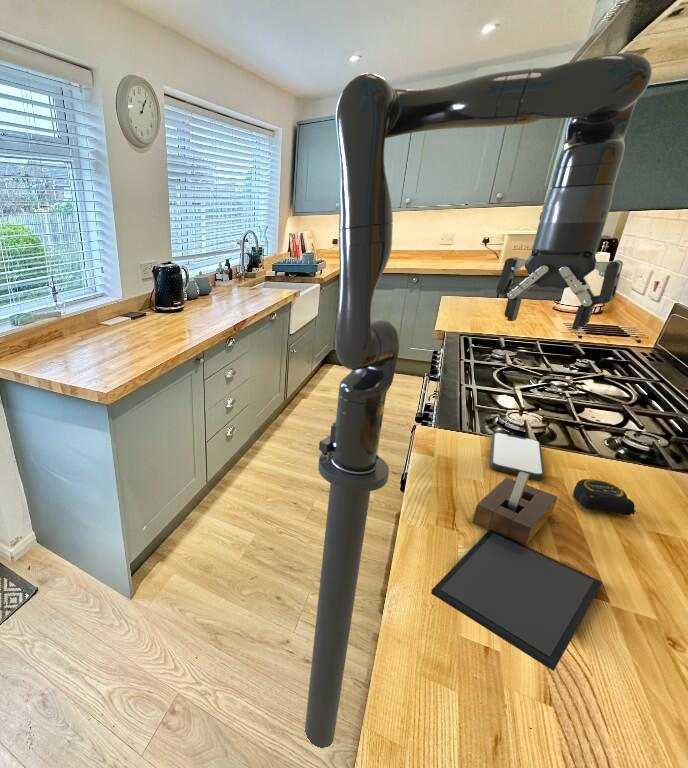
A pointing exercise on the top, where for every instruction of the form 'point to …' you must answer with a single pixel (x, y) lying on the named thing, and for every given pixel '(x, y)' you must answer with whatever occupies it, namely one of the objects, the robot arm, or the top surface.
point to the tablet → (519, 595)
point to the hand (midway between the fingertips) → (542, 324)
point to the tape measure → (602, 497)
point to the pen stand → (514, 524)
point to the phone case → (516, 455)
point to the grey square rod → (518, 491)
